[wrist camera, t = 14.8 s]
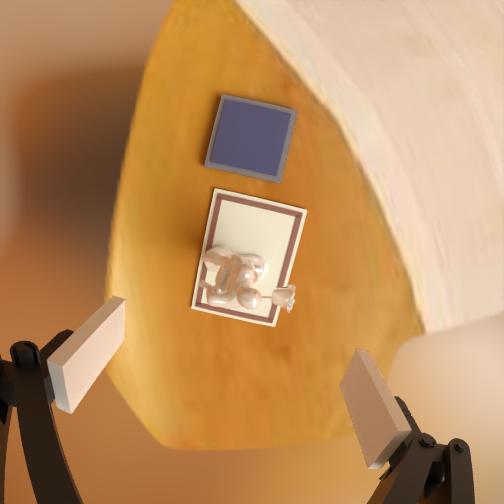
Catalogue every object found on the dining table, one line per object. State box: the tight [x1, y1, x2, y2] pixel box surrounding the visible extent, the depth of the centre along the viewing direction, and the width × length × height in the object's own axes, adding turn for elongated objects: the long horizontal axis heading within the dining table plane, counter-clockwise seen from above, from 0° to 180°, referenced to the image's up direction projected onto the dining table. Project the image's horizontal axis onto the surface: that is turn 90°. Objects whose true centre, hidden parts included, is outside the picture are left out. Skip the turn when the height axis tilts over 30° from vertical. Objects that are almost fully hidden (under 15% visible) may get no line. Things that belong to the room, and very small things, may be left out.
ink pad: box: [204, 94, 298, 184], centre depth 29 cm, size 8×8×1 cm
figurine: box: [199, 245, 295, 313], centre depth 27 cm, size 5×9×12 cm, turn 87°
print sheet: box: [191, 188, 307, 327], centre depth 33 cm, size 14×10×1 cm
